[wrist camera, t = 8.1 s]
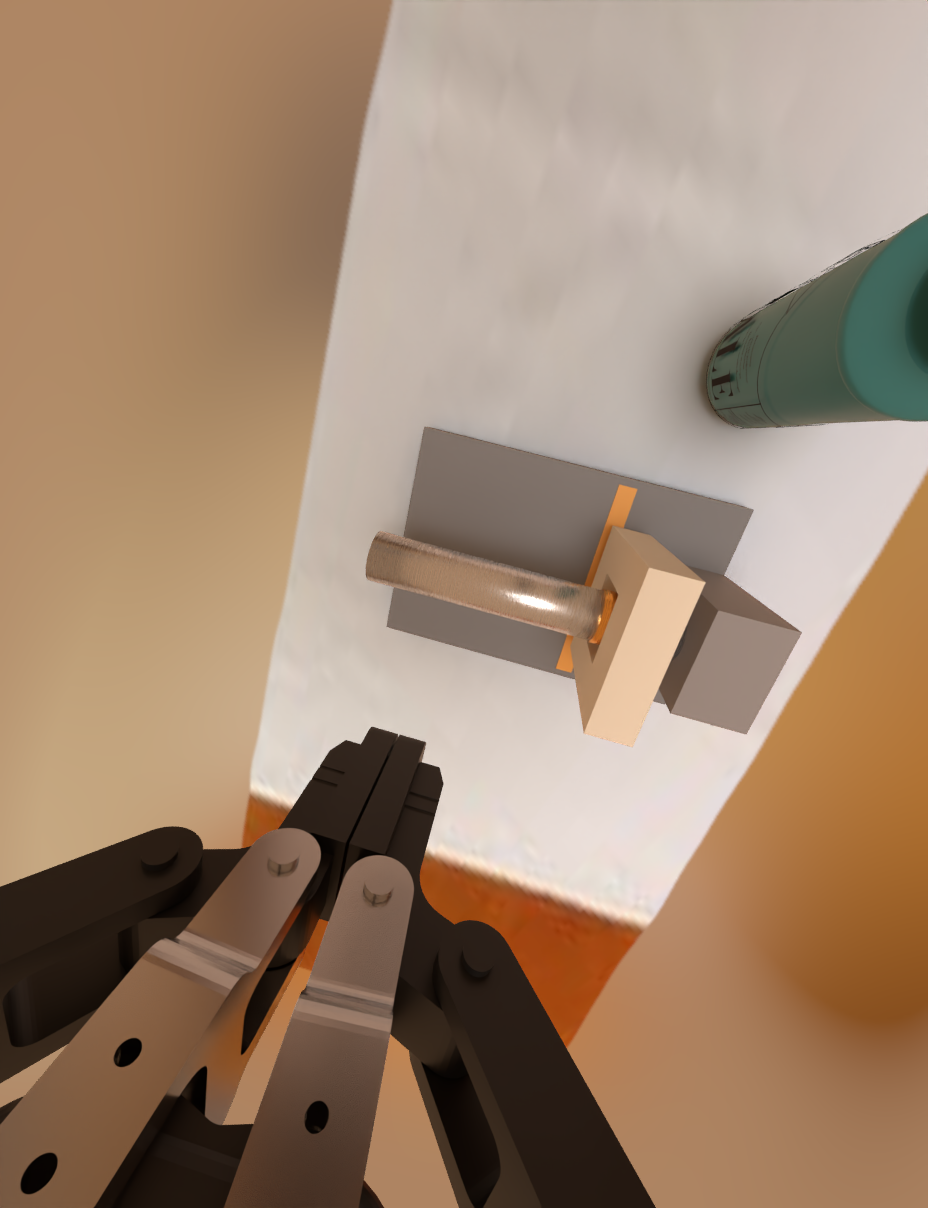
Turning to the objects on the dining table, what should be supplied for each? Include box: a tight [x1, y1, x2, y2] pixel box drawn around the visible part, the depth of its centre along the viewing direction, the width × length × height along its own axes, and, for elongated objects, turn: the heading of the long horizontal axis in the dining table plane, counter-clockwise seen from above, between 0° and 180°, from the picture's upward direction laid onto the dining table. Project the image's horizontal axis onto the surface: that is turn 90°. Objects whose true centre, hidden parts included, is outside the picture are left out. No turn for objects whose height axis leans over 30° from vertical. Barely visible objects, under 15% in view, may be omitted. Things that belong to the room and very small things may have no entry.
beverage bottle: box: [706, 214, 928, 429], centre depth 20 cm, size 6×7×20 cm
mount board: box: [387, 427, 802, 734], centre depth 29 cm, size 15×22×12 cm
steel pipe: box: [366, 531, 687, 662], centre depth 27 cm, size 3×19×3 cm, turn 76°
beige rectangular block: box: [570, 526, 706, 747], centre depth 27 cm, size 9×2×11 cm, turn 166°
